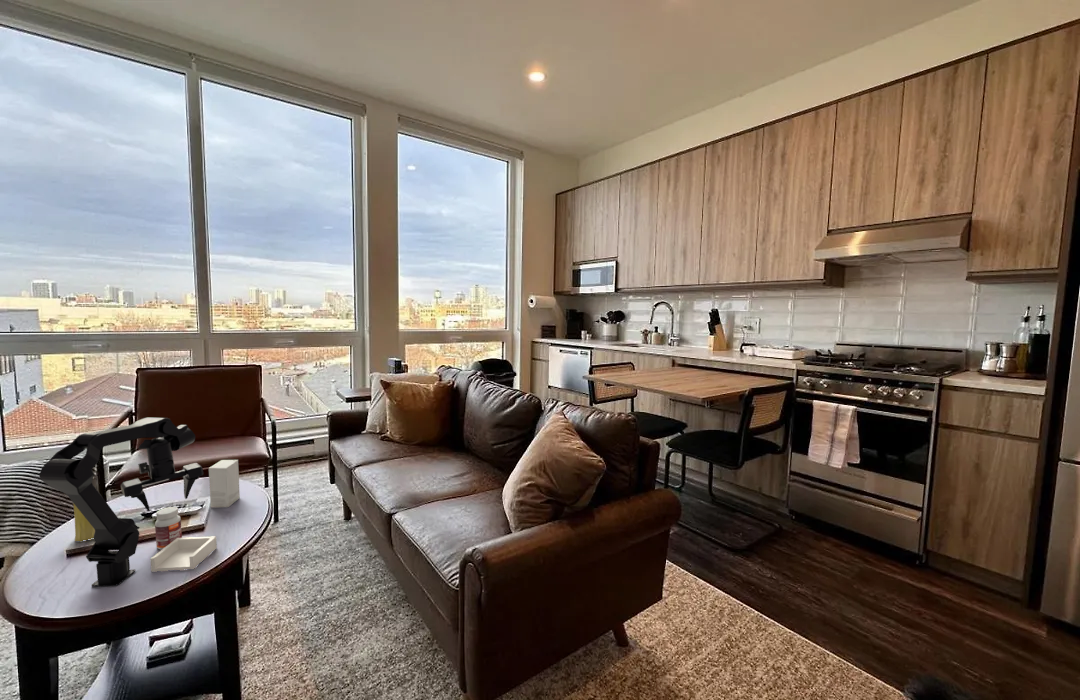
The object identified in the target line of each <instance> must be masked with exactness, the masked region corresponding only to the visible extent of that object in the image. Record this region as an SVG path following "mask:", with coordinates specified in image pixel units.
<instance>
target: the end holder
mask: <svg viewBox="0 0 1080 700" xmlns="http://www.w3.org/2000/svg"><path fill="white" fill-rule="evenodd" d="M217 545H218V542H217V536H215V535H212V536H195V537H194V536H193V537H189V536H188V537H182V538H176V539H175V540H174V541H172V542H171V543H170V544H169V545H167V546H166V547H165V548H163V549H162V550H161V549H160V551H158V552H157V553H156V554H154V555H152V557H150V559H149V560H150V572H151V573H152V572H153V573H158V572H157V571H161V572H169V571H168V570H180V571H187V570H186V569H194V568H195V567H196V566H197V565H198V564H199V563H200V562H202V561H203V560H204V559H205V558H206V557H207V556H208V555H209V554H210V553H211V552H212V551H214V550H215V549H216V548H218V546H217ZM216 550H217V549H216ZM216 550H215V551H216ZM215 551H214V552H215ZM211 554H212V553H211ZM211 554H210V555H211ZM210 555H209V556H210ZM209 556H208V557H209ZM208 557H207V558H208ZM207 558H206V559H207ZM206 559H205V560H206ZM205 560H204V561H205ZM204 561H203V562H204ZM203 562H202V563H203ZM196 568H197V567H196ZM196 568H195V569H196ZM184 569H185V570H184ZM195 569H194V570H195Z"/></svg>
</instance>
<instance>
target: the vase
mask: <svg viewBox="0 0 1080 700" xmlns="http://www.w3.org/2000/svg"><path fill="white" fill-rule="evenodd" d="M72 504H73V505H72V506H73V512H74V532H75V533H74V534H75V535H74V541H75V542H76V541H83V540H88V539H91V538H93V537H94V533H95V529H94V528H93V527H92V525H91V524H90V523H89V522H88V520H87V519H86V518H85V517H84V515H83V514H82V513H81V512H80V511H79V509H78V508H77V507H76V506H75V504H74V503H73V502H72Z"/></svg>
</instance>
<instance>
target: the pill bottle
mask: <svg viewBox="0 0 1080 700" xmlns="http://www.w3.org/2000/svg"><path fill="white" fill-rule="evenodd" d="M178 514H179V508H178V507H177V506H169V507H164V508H161V509H159V510H158V511H156V515H155V516H156V521H155V523H154V530H155V540H156V541H155V542H156V543H155V544H156V548H157V549H158V550H160V551H161V550H162V549H163V548H165V547H166V546H167V545H169V544H170V543H171V542H172V541H174V540H175V539H176V538H183V533H182V519H181V516H180V515H178Z"/></svg>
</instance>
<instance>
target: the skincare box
mask: <svg viewBox="0 0 1080 700" xmlns="http://www.w3.org/2000/svg"><path fill="white" fill-rule="evenodd" d="M239 472H240V471H239V459H220V460H219V461H218V462H216V463H215V464H213V465H211V466H210V467H208V479H209V480H208V481H209V498H210V503H209V504H210V509H215V508H216V509H217V508H219V509H220V508H229V507H230V506H232V505H233V504H234V503H235V502H236V501H238V500H239V499H240V497H241V495H240V494H241V491H240V475H239V474H240V473H239Z"/></svg>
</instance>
